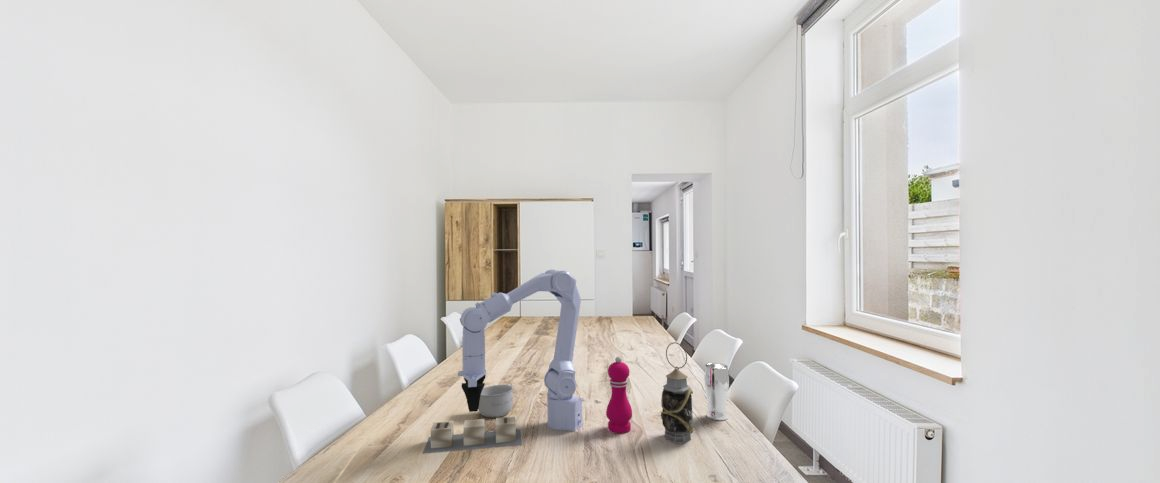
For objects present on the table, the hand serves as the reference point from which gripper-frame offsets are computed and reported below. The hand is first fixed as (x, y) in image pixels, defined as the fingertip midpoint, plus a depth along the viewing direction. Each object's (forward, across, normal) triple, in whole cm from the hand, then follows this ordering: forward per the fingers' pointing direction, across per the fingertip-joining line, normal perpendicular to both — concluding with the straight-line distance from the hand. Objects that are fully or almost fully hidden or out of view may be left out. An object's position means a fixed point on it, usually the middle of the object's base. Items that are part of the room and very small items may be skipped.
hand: (474, 407), depth 117 cm
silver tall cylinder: (+10, -5, +70) cm, 71 cm away
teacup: (+10, -21, +6) cm, 24 cm away
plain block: (+9, 0, 0) cm, 9 cm away
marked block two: (+9, 0, -8) cm, 12 cm away
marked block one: (+9, 0, +8) cm, 12 cm away
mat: (+9, 0, 0) cm, 9 cm away
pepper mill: (+10, -2, +39) cm, 40 cm away
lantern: (+10, +7, +52) cm, 54 cm away
